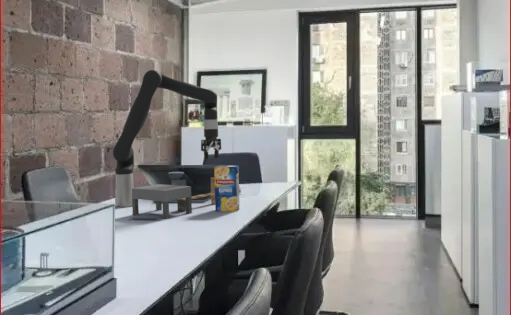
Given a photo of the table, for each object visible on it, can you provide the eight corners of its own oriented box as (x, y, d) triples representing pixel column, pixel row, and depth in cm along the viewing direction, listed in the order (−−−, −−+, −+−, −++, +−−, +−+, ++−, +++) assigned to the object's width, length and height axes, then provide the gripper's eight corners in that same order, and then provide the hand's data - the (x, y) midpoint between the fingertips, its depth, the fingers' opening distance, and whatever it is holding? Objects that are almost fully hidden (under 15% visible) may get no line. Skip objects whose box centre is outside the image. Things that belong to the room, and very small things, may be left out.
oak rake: (213, 202, 312) (212, 177, 311) (220, 203, 309) (219, 177, 308) (177, 210, 289) (176, 182, 288) (185, 211, 286) (184, 183, 285)
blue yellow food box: (237, 211, 283) (236, 166, 282) (215, 211, 285) (214, 166, 283) (239, 208, 290) (238, 165, 288) (218, 208, 292) (217, 165, 290)
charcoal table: (132, 215, 279) (131, 188, 278) (158, 209, 294) (158, 184, 293) (166, 218, 266) (165, 190, 265) (191, 212, 281) (191, 186, 280)
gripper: (213, 127, 315) (214, 157, 316) (196, 128, 303) (197, 159, 304) (224, 127, 311) (225, 158, 312) (207, 128, 299) (208, 159, 300)
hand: (211, 158), depth 308 cm, fingers open, 8 cm apart
